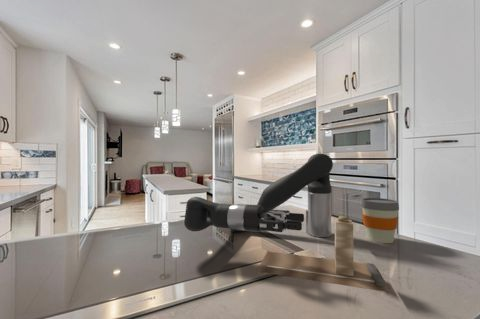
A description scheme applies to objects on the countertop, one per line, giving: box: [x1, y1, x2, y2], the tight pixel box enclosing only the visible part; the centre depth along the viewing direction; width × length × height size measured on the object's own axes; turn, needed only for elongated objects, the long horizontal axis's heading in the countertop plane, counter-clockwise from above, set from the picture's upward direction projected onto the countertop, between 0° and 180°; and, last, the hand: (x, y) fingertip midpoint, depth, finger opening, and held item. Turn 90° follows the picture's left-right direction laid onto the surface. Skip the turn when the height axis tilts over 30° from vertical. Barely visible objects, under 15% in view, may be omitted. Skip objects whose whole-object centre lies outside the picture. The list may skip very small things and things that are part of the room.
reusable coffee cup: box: [360, 197, 400, 244], centre depth 89 cm, size 13×13×15 cm
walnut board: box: [256, 251, 391, 293], centre depth 62 cm, size 30×14×2 cm, turn 72°
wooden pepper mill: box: [334, 215, 354, 276], centre depth 60 cm, size 4×4×14 cm
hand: (302, 221), depth 62 cm, fingers open, 8 cm apart
